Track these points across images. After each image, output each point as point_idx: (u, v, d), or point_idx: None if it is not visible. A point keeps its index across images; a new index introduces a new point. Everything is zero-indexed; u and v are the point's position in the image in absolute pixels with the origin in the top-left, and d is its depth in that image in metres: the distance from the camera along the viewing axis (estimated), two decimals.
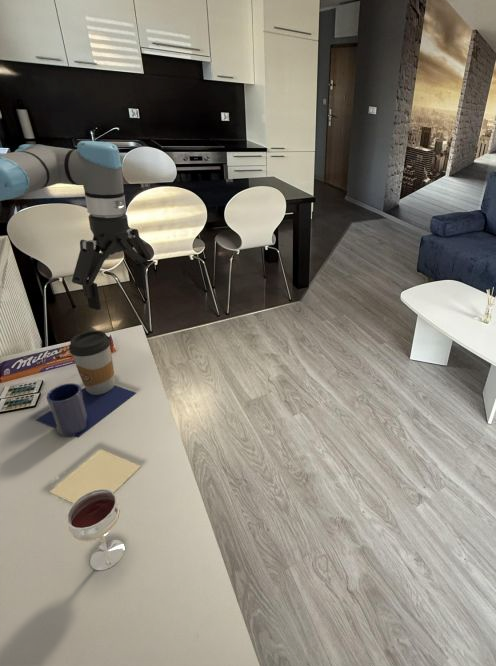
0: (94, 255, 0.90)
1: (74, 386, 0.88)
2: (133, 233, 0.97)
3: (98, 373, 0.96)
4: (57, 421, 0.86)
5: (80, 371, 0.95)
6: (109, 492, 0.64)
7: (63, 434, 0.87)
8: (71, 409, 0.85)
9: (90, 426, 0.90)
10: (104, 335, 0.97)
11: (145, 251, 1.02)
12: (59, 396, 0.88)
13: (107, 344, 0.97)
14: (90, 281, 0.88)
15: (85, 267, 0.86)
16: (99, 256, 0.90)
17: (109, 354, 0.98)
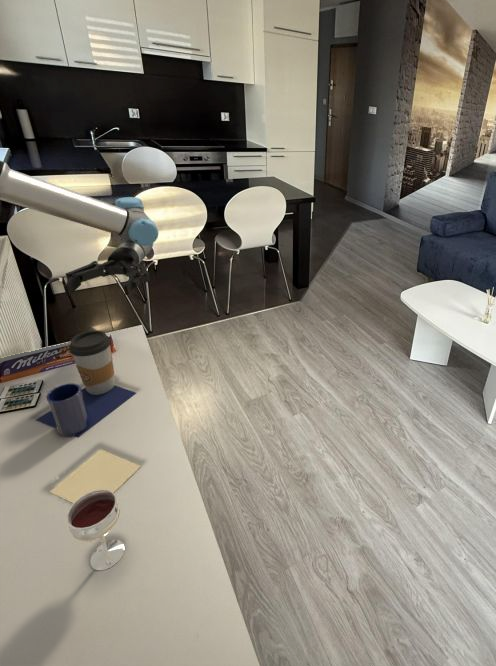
0: None
1: (74, 386, 0.88)
2: None
3: (98, 373, 0.96)
4: (57, 421, 0.86)
5: (80, 371, 0.95)
6: (109, 492, 0.64)
7: (63, 434, 0.87)
8: (71, 409, 0.85)
9: (90, 426, 0.90)
10: (104, 335, 0.97)
11: None
12: (59, 396, 0.88)
13: (107, 344, 0.97)
14: None
15: None
16: None
17: (109, 354, 0.98)
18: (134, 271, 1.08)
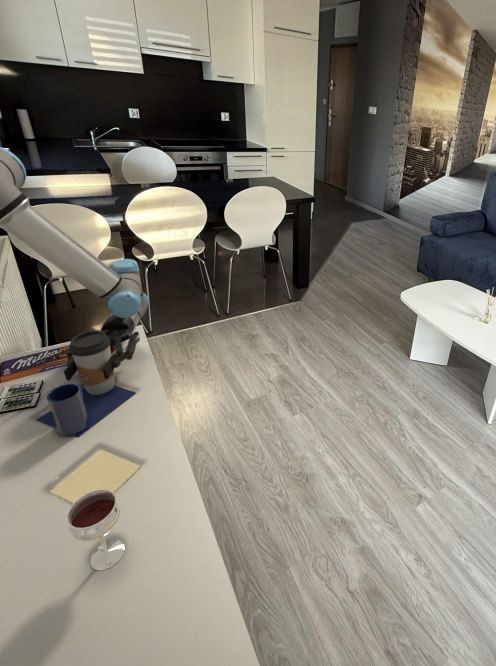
0: (120, 341, 1.06)
1: (74, 386, 0.88)
2: None
3: (98, 373, 0.96)
4: (57, 421, 0.86)
5: (80, 371, 0.95)
6: (109, 492, 0.64)
7: (63, 434, 0.87)
8: (71, 409, 0.85)
9: (90, 426, 0.90)
10: (104, 335, 0.97)
11: None
12: (59, 396, 0.88)
13: (107, 344, 0.97)
14: None
15: None
16: (121, 345, 1.07)
17: (109, 354, 0.98)
18: (119, 347, 1.03)
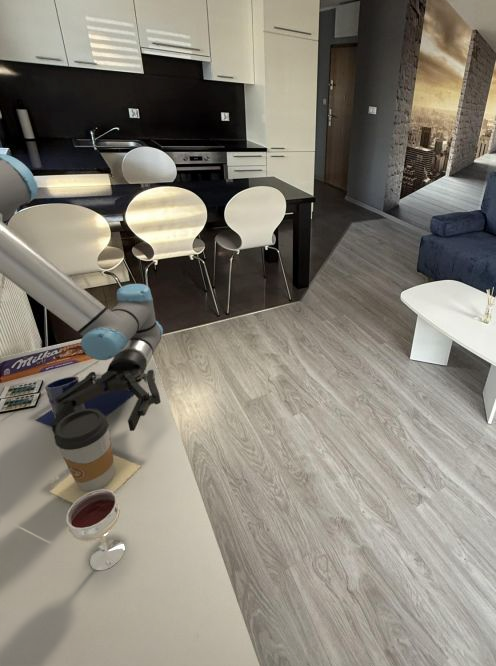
0: None
1: (73, 379, 0.90)
2: None
3: (93, 466, 0.74)
4: (55, 412, 0.86)
5: (69, 465, 0.73)
6: (109, 492, 0.64)
7: None
8: None
9: None
10: (100, 416, 0.74)
11: None
12: None
13: (104, 429, 0.74)
14: None
15: None
16: None
17: (107, 440, 0.75)
18: (141, 390, 0.87)
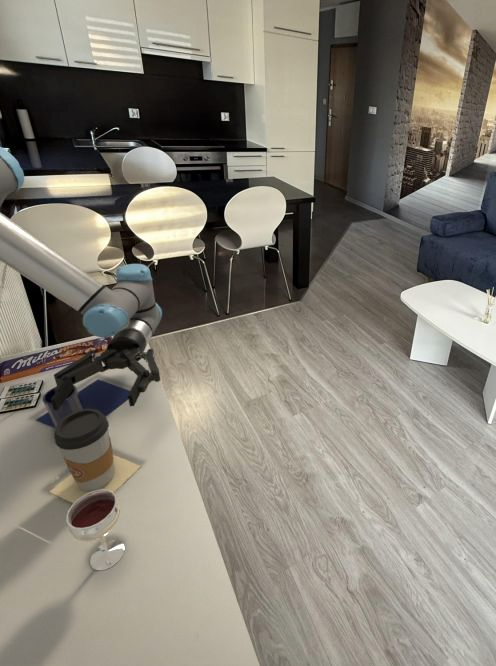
0: None
1: None
2: None
3: (93, 466, 0.74)
4: (55, 422, 0.85)
5: (69, 465, 0.73)
6: (109, 492, 0.64)
7: None
8: (68, 410, 0.85)
9: None
10: (100, 416, 0.74)
11: None
12: None
13: (104, 429, 0.74)
14: None
15: None
16: None
17: (107, 440, 0.75)
18: (141, 367, 0.86)
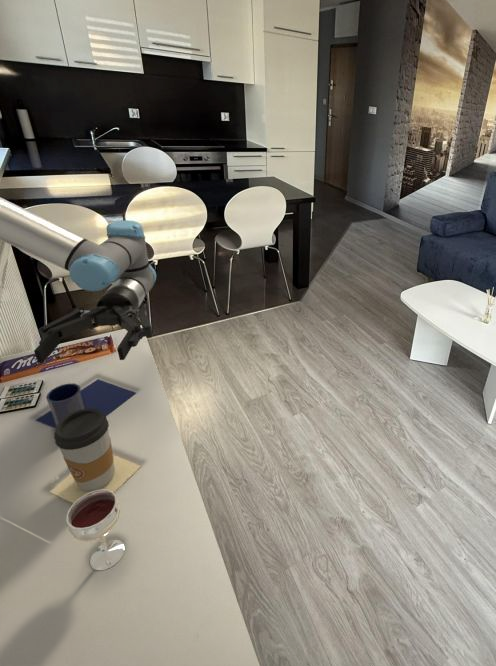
0: None
1: (74, 386, 0.88)
2: None
3: (93, 466, 0.74)
4: (57, 421, 0.86)
5: (69, 465, 0.73)
6: (109, 492, 0.64)
7: None
8: (70, 410, 0.85)
9: None
10: (100, 416, 0.74)
11: None
12: (59, 396, 0.88)
13: (104, 429, 0.74)
14: None
15: None
16: None
17: (107, 440, 0.75)
18: (132, 323, 0.81)
